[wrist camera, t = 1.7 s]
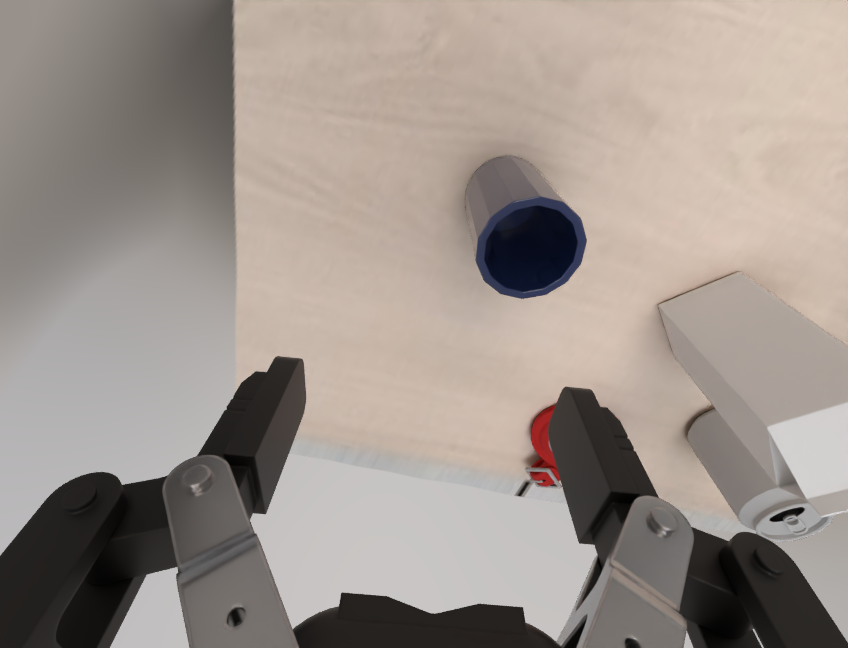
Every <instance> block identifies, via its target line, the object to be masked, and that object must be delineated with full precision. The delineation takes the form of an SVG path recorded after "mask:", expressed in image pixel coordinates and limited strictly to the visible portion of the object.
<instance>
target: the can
mask: <svg viewBox="0 0 848 648" xmlns="http://www.w3.org/2000/svg"><path fill="white" fill-rule="evenodd" d="M687 441H688V442H689V444H690V446H691V448H692V449H693V451H694V452H695V454H696V455H697V457H698V458H699V460H700V461H701V463H702V464H703V466H704V467H705V469H706V470H707V472H708V474H709V475H710V477H711V478H712V480H713V481H714V483H715V484H716V486H717V487H718V489H719V490H720V492H721V493H722V495H723V496H724V498H725V499H726V501H727V502H728V504H729V505H730V507H731V509H732V510H733V512H734V513H735V515H736V516H737V518H738V519H739V521H740V522H741V524H743V525H745V526H746V527H748V528H750V529H753V530H755V531H756V533H757V535H760V536H762V537H764V538H766V539H768V540H769V541H772V542H788V541H795V540H799V539H803V538H807V537H809V536H812V535H814V534H816V533H818V532H820V531H821V530H823V529H825V528H826V527H827V526H828V525H829V524H830V523H831V522H832V520H833V517H834V515H831V516H827V517H820V516H819V514H818V513H817V512H816V511H815V510H814V509H813V507H812V506H811V505H810V504H809V503H808V501H806V500H804V499H802V498H800V497H798V496H796V495H793V494H791V493H789V492H787V491H785V490H782V489H780V488H778V487H777V485H776V484H775V483H774V481H773V480H772V479H771V478H770V476H769V475H768V474H767V473H766V471H765V470H764V469H763V468H762V466H761V465H760V464H759V463H758V461H757V460H756V459H755V458H754V456H753V455H752V454H751V453H750V451H749V450H748V449H747V448H746V446H745V445H744V444H743V443H742V441H741V440H740V439H739V438H738V436H737V435H736V434H735V433H734V431H733V430H732V429H731V428H730V426H729V425H728V424H727V423H726V421H725V420H724V419H723V418H722V416H721V415H720V414H719V413H718V411H717V410H716V409H712V410H710V411H707V412H705V413H704V414H702V415H700V416H699V417H698V418H697V419H696V420H695V421H694V422H693V424H692V426H691V428H690V430H689V432H688V436H687Z"/></svg>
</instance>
